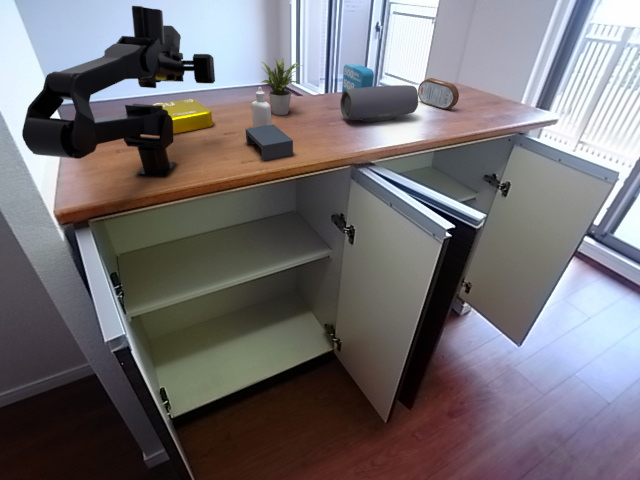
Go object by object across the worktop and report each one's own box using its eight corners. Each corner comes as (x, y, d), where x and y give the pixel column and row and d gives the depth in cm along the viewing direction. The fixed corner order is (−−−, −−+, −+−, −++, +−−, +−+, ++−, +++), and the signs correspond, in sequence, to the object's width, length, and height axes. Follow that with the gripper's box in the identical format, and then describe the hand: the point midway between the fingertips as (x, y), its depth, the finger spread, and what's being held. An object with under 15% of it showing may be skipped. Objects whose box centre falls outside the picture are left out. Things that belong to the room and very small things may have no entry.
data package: (341, 99, 133) (343, 63, 126) (351, 98, 135) (354, 62, 128) (359, 109, 125) (363, 71, 118) (370, 108, 127) (374, 70, 119)
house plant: (311, 118, 116) (312, 62, 106) (268, 123, 112) (265, 64, 102) (296, 104, 127) (296, 52, 117) (256, 108, 122) (253, 53, 112)
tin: (455, 110, 127) (462, 85, 122) (450, 112, 126) (457, 86, 121) (419, 99, 136) (424, 75, 131) (414, 101, 134) (419, 76, 129)
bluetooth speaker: (401, 111, 125) (406, 80, 119) (416, 121, 118) (422, 88, 112) (338, 117, 118) (340, 84, 112) (350, 127, 111) (353, 93, 105)
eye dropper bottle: (266, 126, 110) (264, 83, 102) (273, 133, 106) (271, 89, 98) (252, 128, 108) (248, 85, 101) (258, 135, 104) (255, 90, 97)
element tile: (163, 136, 101) (159, 119, 98) (147, 120, 111) (143, 103, 108) (215, 126, 108) (213, 109, 106) (196, 111, 118) (193, 96, 115)
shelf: (263, 161, 91) (262, 145, 89) (246, 143, 99) (245, 128, 97) (293, 155, 94) (293, 140, 92) (274, 138, 103) (273, 124, 100)
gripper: (195, 23, 78) (223, 36, 92) (112, 24, 80) (152, 36, 94) (200, 81, 82) (226, 85, 96) (121, 80, 84) (158, 84, 98)
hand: (190, 71), depth 96 cm, fingers open, 9 cm apart
